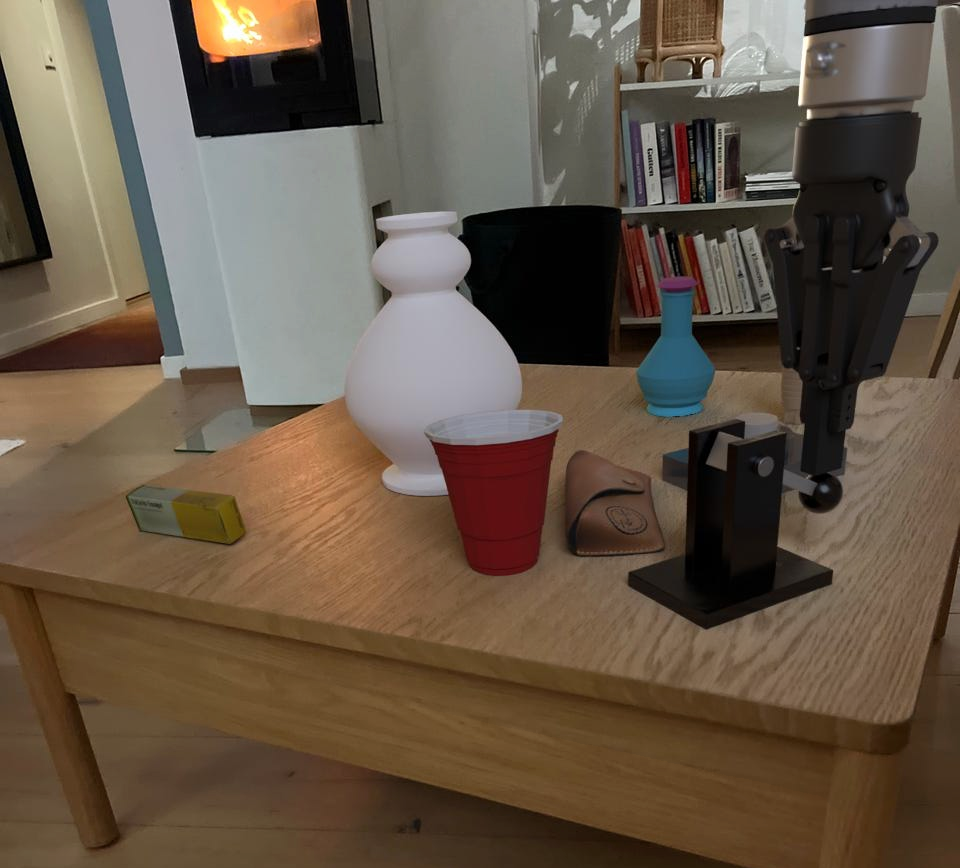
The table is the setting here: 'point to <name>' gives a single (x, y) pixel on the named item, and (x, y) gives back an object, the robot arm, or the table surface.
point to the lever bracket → (731, 535)
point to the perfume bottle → (676, 356)
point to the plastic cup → (497, 483)
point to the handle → (791, 396)
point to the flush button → (758, 423)
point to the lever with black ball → (790, 480)
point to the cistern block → (678, 461)
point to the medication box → (186, 513)
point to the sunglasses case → (609, 509)
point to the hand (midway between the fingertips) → (820, 469)
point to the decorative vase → (424, 352)
